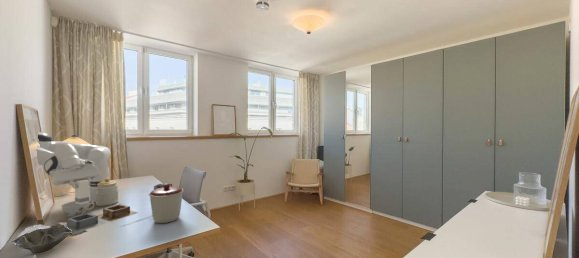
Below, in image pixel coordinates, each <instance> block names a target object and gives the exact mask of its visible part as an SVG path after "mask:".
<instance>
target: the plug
mask: <svg viewBox="0 0 579 258" xmlns="http://www.w3.org/2000/svg"><path fill="white" fill-rule="evenodd" d="M74 183H75V184H78V188H75V189H74V201H75V203H76V204H84V203H90V202H89V180H78V181H75V182H74Z"/></svg>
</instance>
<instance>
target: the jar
mask: <svg viewBox="0 0 579 258" xmlns="http://www.w3.org/2000/svg"><path fill="white" fill-rule="evenodd" d="M97 185H98V186H97V187H96V188H95V189H96V202H95V205H96V206H99V207H105V206H111V205H114V204H115V205H116V204H117V203H118V202H119V198H120V197H119V189H118V187H119V184H118V181H115V180H113V179H110V180H109V179H108V178H106V179H105V181H102V182H100V183H98V184H97Z"/></svg>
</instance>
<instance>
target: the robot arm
mask: <svg viewBox="0 0 579 258" xmlns="http://www.w3.org/2000/svg"><path fill="white" fill-rule="evenodd" d="M38 139H39V144H40V147H39V146H37V149H36V151H37V159H38V163H39V165H38V166H43V168H44V169H43V170H44V172H45V173H46V174H47V175H49V176H50V177H51V180H52V181H51V182H52V184H53V185H54V186H60V185H65V184H67V185H69V186H71V187H72V188H73V190H75V188H78V184H75V181H78V180H89V203H91V202H94V203H96V189H95V188H96V187H97V186H98V185H97V184H98V183H100V182H102V181H105V179H106V178H108V179H109V180H111V178H110V167H109V158H110V156H111V154H112V153H111V150H110V148H109V147H107V146H103V145H94V144H85V143H77V142H71V141H70V142H69V141H62V140H61V141H60V140H55V139H54V138H52V136H51V135H50V134H48V133H46V132H42V131H38Z"/></svg>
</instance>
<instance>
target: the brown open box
mask: <svg viewBox="0 0 579 258" xmlns="http://www.w3.org/2000/svg"><path fill="white" fill-rule="evenodd" d="M135 214H139V212H138V211H133V210H131V206H129V205H126V204H121V203H120V204H115V205H112V206H109V207H105V208H102V213H99V214H97V215H96V216H98V219H99V218H100V219H102V220H106V221H108V222H114V221H117V220H120V219H124V218H127V217H130V216H132V215H133V216H134V215H135Z"/></svg>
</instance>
